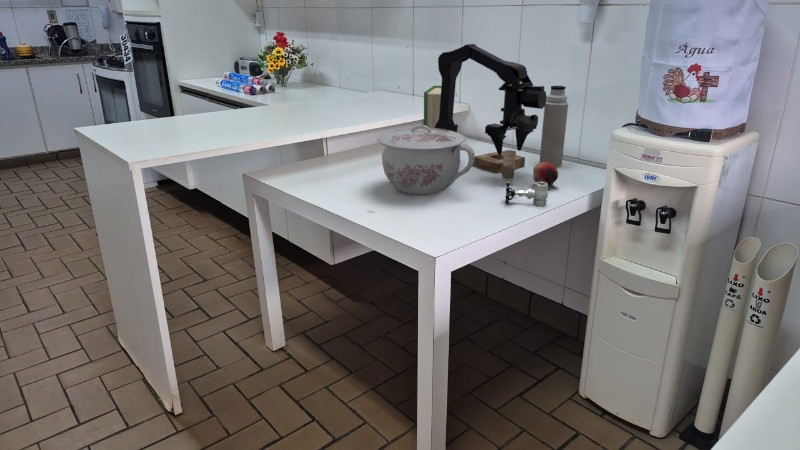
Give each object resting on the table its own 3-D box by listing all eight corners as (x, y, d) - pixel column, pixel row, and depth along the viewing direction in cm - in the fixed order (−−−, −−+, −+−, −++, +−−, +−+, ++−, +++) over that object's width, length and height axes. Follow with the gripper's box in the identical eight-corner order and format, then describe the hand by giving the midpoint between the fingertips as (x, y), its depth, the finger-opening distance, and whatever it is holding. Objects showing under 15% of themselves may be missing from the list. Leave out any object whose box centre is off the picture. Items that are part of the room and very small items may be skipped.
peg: (508, 180, 184) (510, 153, 180) (499, 177, 187) (501, 151, 183) (516, 177, 186) (518, 151, 182) (507, 175, 189) (509, 149, 185)
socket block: (496, 173, 190) (497, 163, 189) (472, 166, 199) (473, 156, 198) (524, 166, 198) (525, 157, 196) (500, 159, 207) (500, 150, 205)
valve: (546, 201, 164) (505, 199, 166) (548, 180, 162) (506, 178, 163) (547, 209, 158) (505, 207, 160) (549, 187, 156) (506, 185, 157)
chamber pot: (367, 181, 183) (365, 119, 175) (442, 172, 192) (443, 113, 184) (396, 209, 159) (395, 138, 151) (480, 197, 168) (483, 130, 160)
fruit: (547, 182, 181) (549, 158, 178) (561, 188, 175) (564, 164, 172) (527, 184, 179) (529, 160, 176) (541, 191, 172) (543, 167, 169)
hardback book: (442, 155, 213) (443, 92, 204) (423, 154, 215) (424, 92, 206) (450, 144, 229) (451, 86, 220) (432, 143, 231) (433, 85, 222)
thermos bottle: (537, 161, 205) (544, 84, 194) (559, 161, 204) (567, 84, 193) (540, 167, 197) (548, 87, 187) (563, 167, 196) (572, 87, 186)
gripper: (510, 112, 166) (507, 162, 172) (551, 105, 176) (547, 153, 182) (485, 107, 174) (482, 155, 180) (525, 101, 184) (521, 146, 190)
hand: (509, 152), depth 183 cm, fingers open, 9 cm apart
